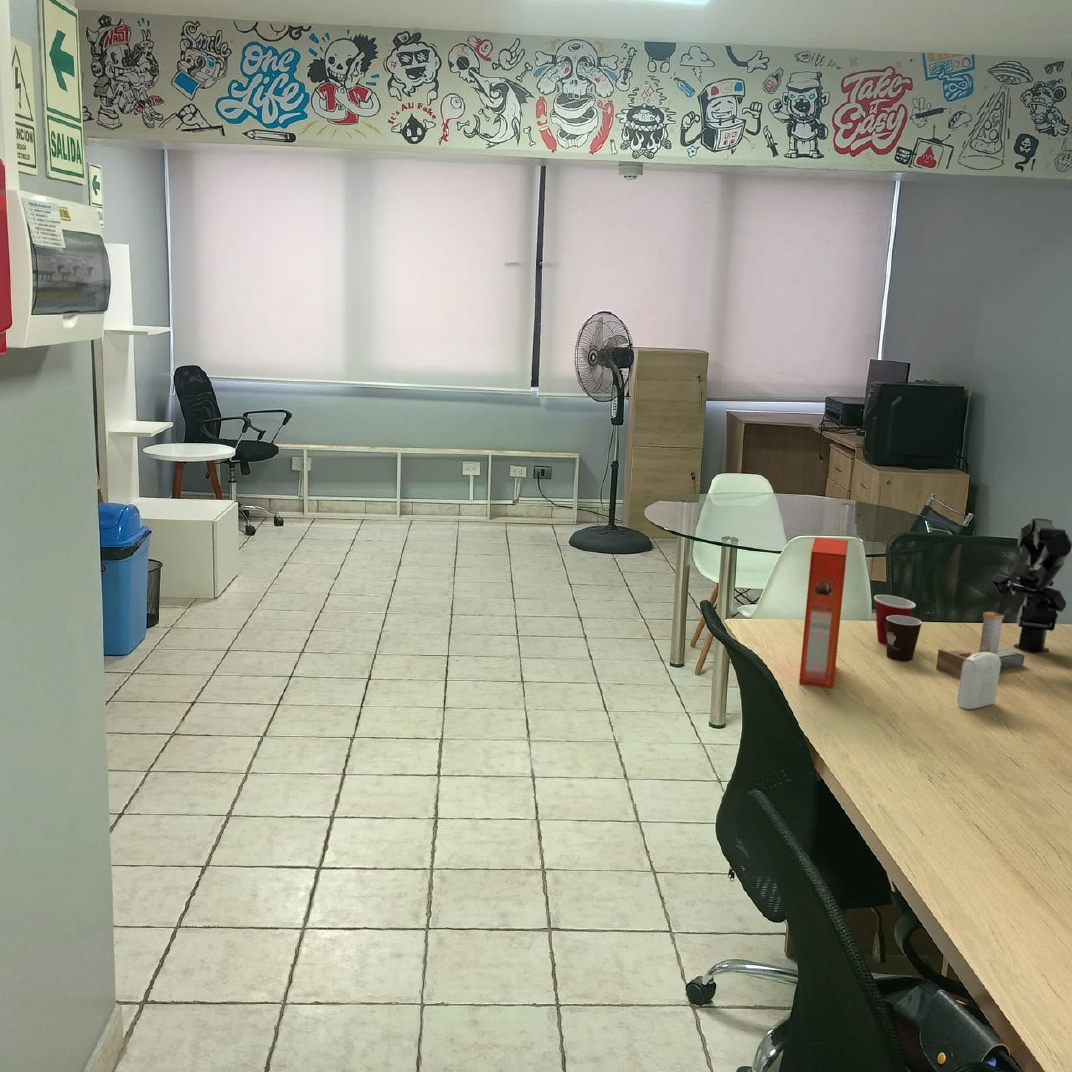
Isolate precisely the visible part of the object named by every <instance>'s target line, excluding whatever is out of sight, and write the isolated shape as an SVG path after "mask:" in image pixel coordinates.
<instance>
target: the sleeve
mask: <svg viewBox="0 0 1072 1072" xmlns="http://www.w3.org/2000/svg"><path fill="white" fill-rule="evenodd" d="M1004 650H1009V649H1001V650H999V651H1004ZM1017 653H1018V652H1017ZM1000 661H1001V666H1000V671H1002V670H1007V669H1014V668H1019V667H1023V666H1024V662H1025V654H1022V653H1018V655H1016V656H1010V657H1005V658H1000Z"/></svg>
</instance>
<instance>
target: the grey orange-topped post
mask: <svg viewBox="0 0 1072 1072" xmlns="http://www.w3.org/2000/svg"><path fill="white" fill-rule="evenodd" d="M982 617H983V621H982V629H981V637H980V644H979V651H978V653H980V652H990V653H993V654H996V655H998V656H999V658H1005V657H1010V656H1016V655H1018V652H1016V651H1014V650H1010V649H1008V650H1006V649H1003V650H1004V651H1000V650H999V644H1000V637H1001V630H1002V623H1003V620H1004V618H1005V614H1003V613H1002V614H999V613H998V612H995V611H987V612H986V611H985V612H983V614H982Z"/></svg>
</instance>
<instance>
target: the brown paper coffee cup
mask: <svg viewBox="0 0 1072 1072" xmlns="http://www.w3.org/2000/svg"><path fill="white" fill-rule="evenodd" d="M884 620H886V633H885V631H884V629H883V621H884ZM922 623H923V622H922V620H920V619H919V618H916V617H912V616H909V617H908V616H900V615H892V616H888V617H887V618H883V619H881V622H880V627H881V630H882V632H883V634H884V635H885V637H886V645H885V647H886V653H885V654H886V658H888V659H890V660H892V661H897V662H905V663H906V662H911V661H913V659H914V654H915V652H916V651H915V650H916V646H917V642H918V640H919V635H920V631H921V628H922Z"/></svg>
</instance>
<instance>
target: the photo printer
mask: <svg viewBox="0 0 1072 1072" xmlns="http://www.w3.org/2000/svg"><path fill="white" fill-rule="evenodd" d="M1000 666H1001V661H1000V658H999V656H998V655H996V654H993V653H990V652H980V653H979V652H977V653H975V654H971V656H970V657H968V658H967V659H966V660H965V661H964V662H963V665H962V672H961V678H960V680H959V685H958V686H959V688H958V693H957V701H956V702H957V703H956V704H957V705H958V706H959V707H960V708H962V709H965V710H975V709H978V708H983V707H987V706H991V705H994V704H995V702H996V698H997V694H998V693H997V692H998V686H999V679H1000V673H1001V672H1000V671H1001V670H1000Z"/></svg>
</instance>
